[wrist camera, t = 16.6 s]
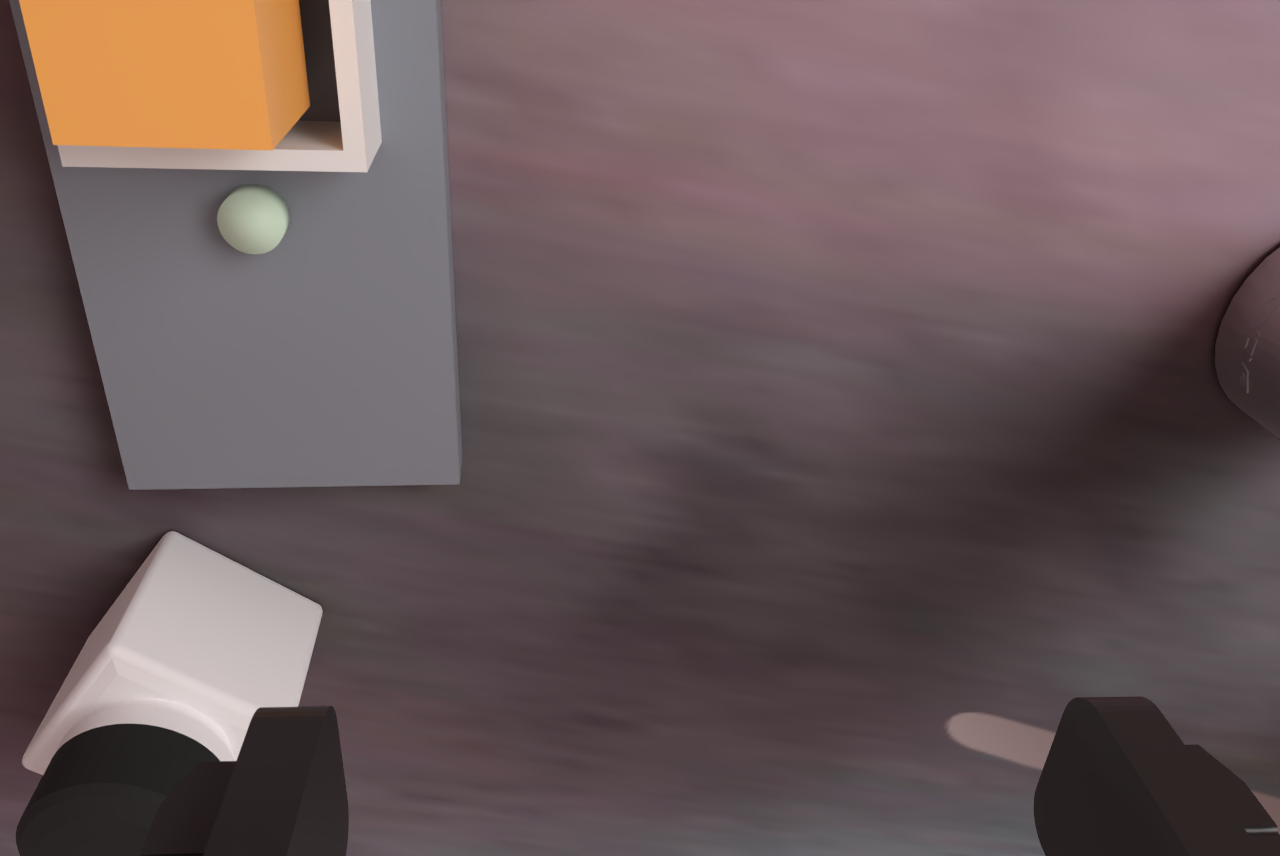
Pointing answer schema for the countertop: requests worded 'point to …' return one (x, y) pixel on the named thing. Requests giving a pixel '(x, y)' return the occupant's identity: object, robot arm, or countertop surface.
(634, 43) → the countertop surface
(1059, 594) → the countertop surface
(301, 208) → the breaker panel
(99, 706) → the medicine bottle
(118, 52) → the orange cube
